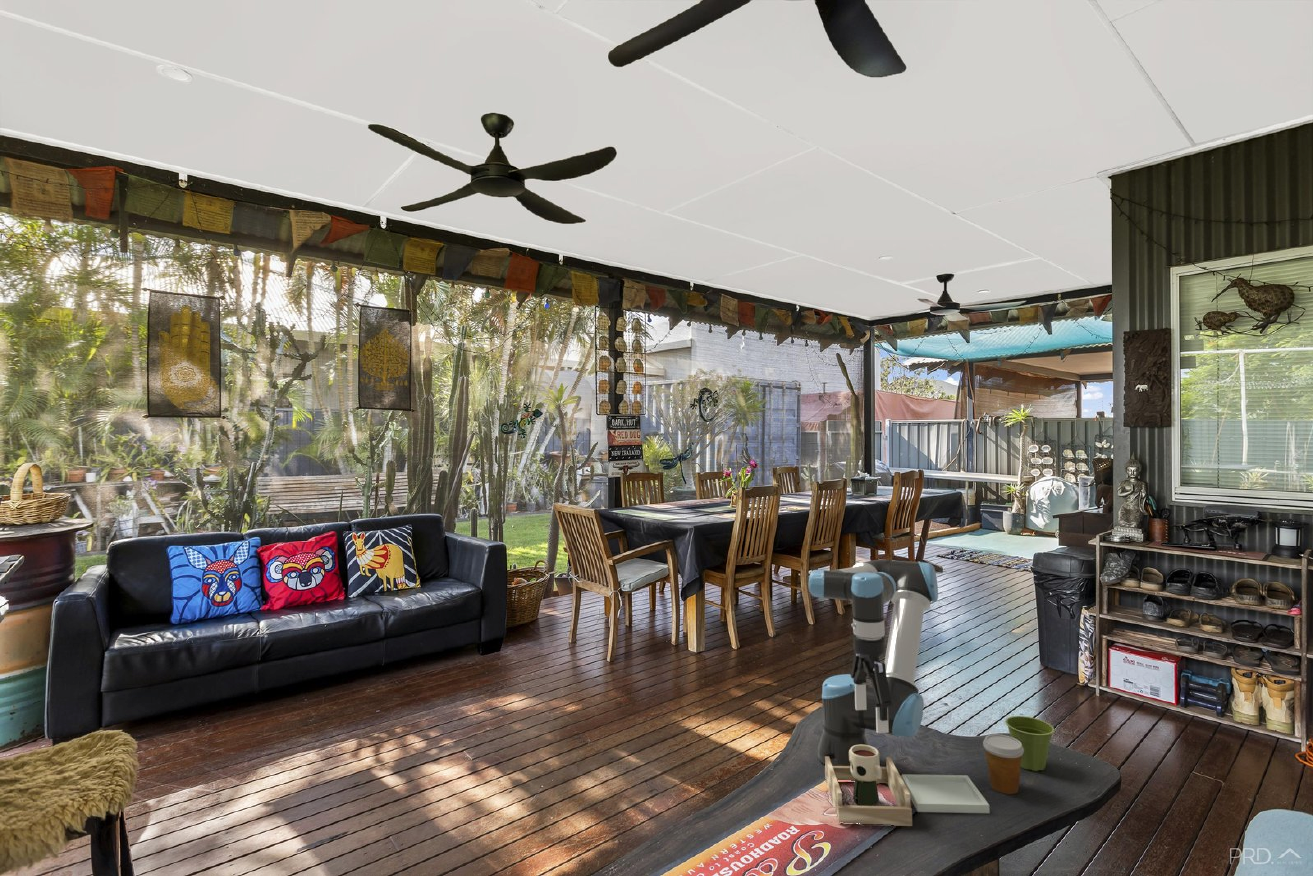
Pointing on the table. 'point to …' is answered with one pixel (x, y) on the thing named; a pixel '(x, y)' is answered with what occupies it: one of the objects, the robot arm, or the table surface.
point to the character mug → (865, 773)
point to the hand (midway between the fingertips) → (871, 720)
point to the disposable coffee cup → (1003, 762)
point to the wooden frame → (870, 814)
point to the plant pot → (1031, 740)
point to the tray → (945, 794)
